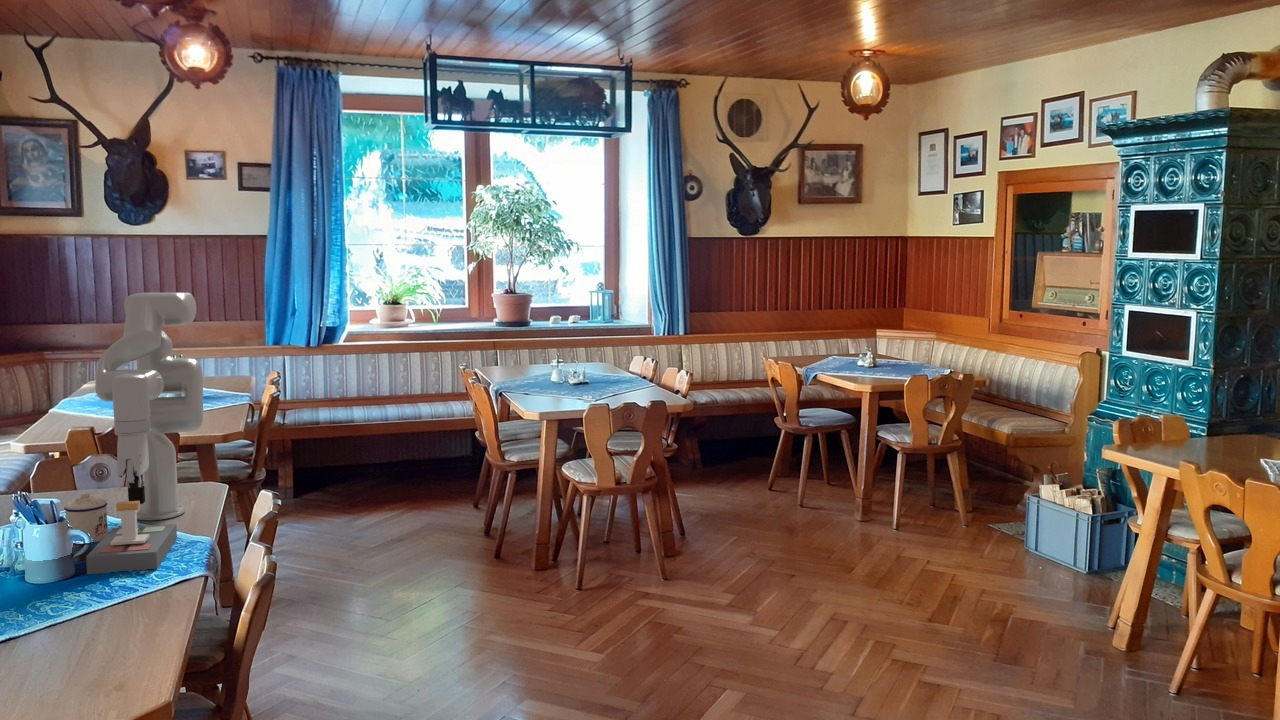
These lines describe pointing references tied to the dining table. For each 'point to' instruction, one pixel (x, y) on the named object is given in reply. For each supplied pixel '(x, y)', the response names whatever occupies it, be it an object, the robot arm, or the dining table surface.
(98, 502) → the teacup with lid
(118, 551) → the switch box
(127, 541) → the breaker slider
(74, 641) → the dining table surface
